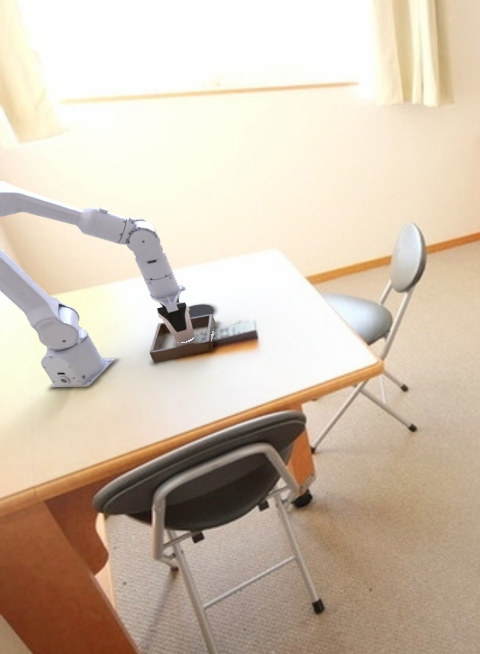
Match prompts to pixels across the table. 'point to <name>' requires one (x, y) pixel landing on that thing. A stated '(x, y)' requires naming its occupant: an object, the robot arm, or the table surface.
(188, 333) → the smoothie
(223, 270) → the table surface
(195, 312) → the coaster
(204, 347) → the box
